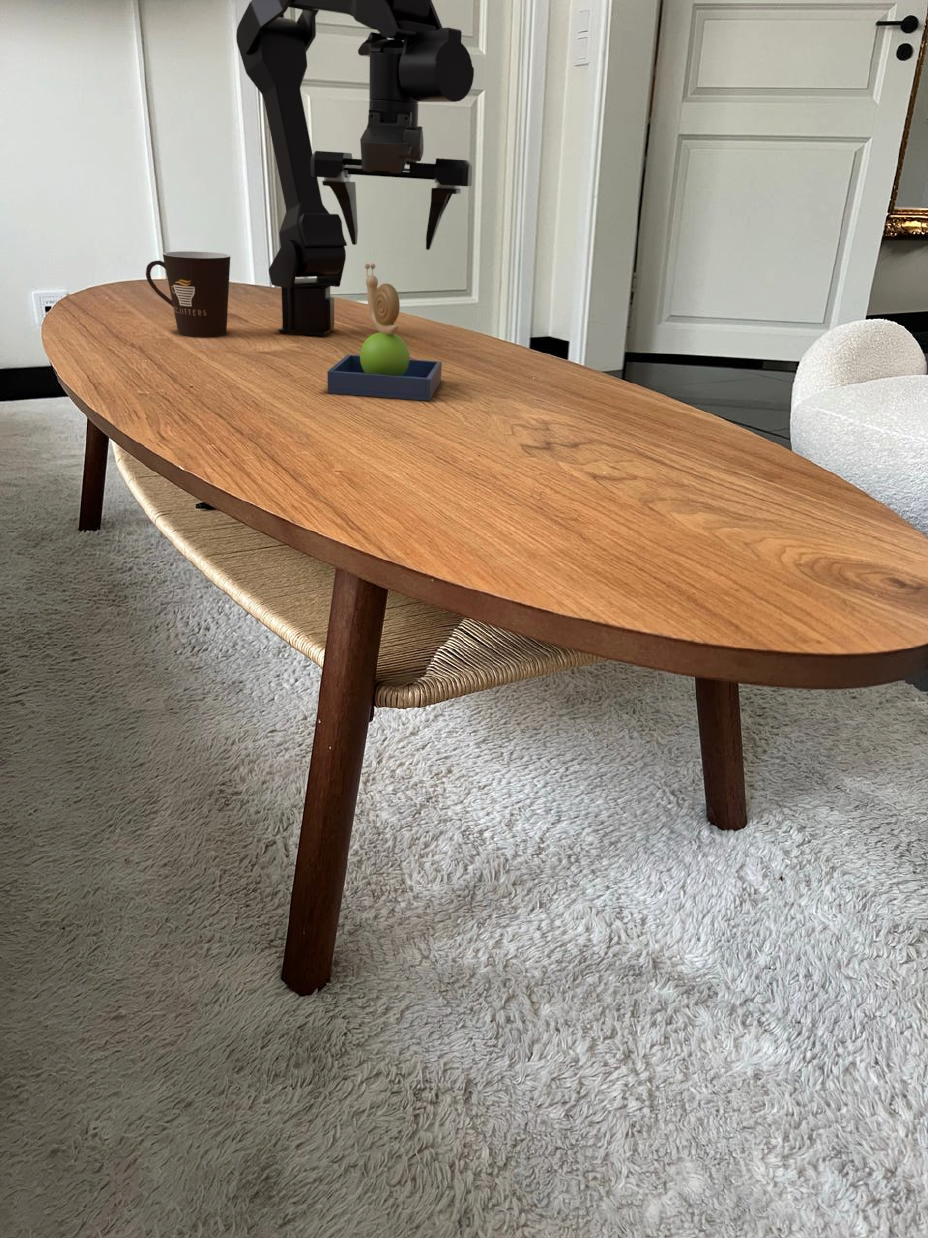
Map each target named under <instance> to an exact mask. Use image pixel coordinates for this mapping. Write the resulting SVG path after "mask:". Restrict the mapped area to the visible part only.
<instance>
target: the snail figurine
mask: <svg viewBox="0 0 928 1238" xmlns="http://www.w3.org/2000/svg"><path fill="white" fill-rule="evenodd" d="M364 268H365V269H366V279H365V285H366V291H367V293H366V294H367V296H366V297H367V305H368V306H367V307H368V311H369V316H370V320H371V323H372V324H373V327H375V328H376V329H377V331H378V332H375V333H373V334H371V335H370V336H368V337H367V338H366V339H365V341H364V342H363V344H362V345H361V348H360V351H359V355H360V362H361V366H362V368H363V370H364V372H365V373H366V374H379V375H392V376H403V375H404V374H405V372H406V370H407V368H408V366H409V361H410V359H411V357H410V356H411V355H410V352H409V347H408V346H407V344H406V342H405V341H404V340H403V339H402V338H401V336H399V335H397V334H396V333H397V332H398V330H399V325H398V324H395V322H396V321H397V319H398V318H399V314H400V308H401V307H400V305H401V303H400V297H399V293H398V291H397V290H396V288H395V287H394V286H393V285H392V284H390V283H382V284H381V285H379V281H378V278H377V276H375V275H374V269H375V268H376V264H375V263H371V264H369V263H365V265H364ZM369 269H371V274H370V275H369V273H368V270H369ZM378 285H379V286H378Z"/></svg>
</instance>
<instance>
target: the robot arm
mask: <svg viewBox="0 0 928 1238" xmlns="http://www.w3.org/2000/svg"><path fill="white" fill-rule="evenodd" d="M289 8H291V9H297V10H300V11H301V13H300V15H299V17H298V18H297V20H294V19H291V18H286V17H281V16H283V15H284V14H285V13H286V12H287V10H288V9H289ZM319 11H321V12H329V13H336V14H342V15H346V16H347V15H348V16H351V17H352V18H353V19H354V21H356V22H357V23H359V24H361V25H363V26H365V27H366V28H368V29H371V30H376V31H377V32H374V31H370V33H369V35H368V37H367V38H366V40H365V41H364V42H363V43H361V44H360V46H359V47H358V49H357V54H358V55H359V56H362V57H367V58H369V75H368V76H369V83H368V84H369V86H368V87H369V89H368V90H369V91H368V93H369V95H368V96H369V97H368V99H369V100H368V115H367V125H366V129H364V131H363V133H362V135H361V137H360V139H359V142H360V157H361V158H353V154H352V153H351V152H341V151H325V150H315V151H314V153H313V148H312V143H311V139H310V134H309V133H310V132H309V127H308V122H307V118H306V112H305V109H304V108H305V107H304V102H303V96H302V91H301V87H302V84H303V80H304V78H305V74H306V71H307V68H308V57H307V53H308V50H309V48H311V45H312V43H313V42H314V41H315V38H316V36H317V23H316V22H317V21H316V17H317V14H318V13H319ZM462 33H463V32H462V29H458V28H454V27H453V28H452V27H443V25H442V23H441V21H440V17H439V16H438V13H437V10H436V8H435V5H434V2H433V0H250V1H249V3H248V5H247V7H246V9H245V11H244V13H243V15H242V17H241V19H240V21H239V23H238V25H237V28H236V34H235V35H236V36H235V38H236V39H235V40H236V44H237V49H238V51H239V55H240V58H241V61H242V65H243V68H244V71H245V73H246V75H247V77H248V78H249V79H250V81H251V82H252V83H253V85H254V86H255V87H256V88H257V89H258V91H259V93H260V94H261V96H262V98H263V102H264V107H265V113H266V117H267V123H268V128H269V132H270V137H271V142H272V148H273V153H274V158H275V162H276V166H277V173H278V177H279V181H280V186H281V192H282V197H283V201H284V207H285V214H284V217H283V220H282V224H281V225H280V229H279V231H278V237H279V245H280V248H279V249H278V251H277V252H276V255H275V256H274V259H273V260H272V261H271V264H270V266H269V268H268V274H269V279H270V283H271V286H274V287H279V288H281V289H280V290H281V291H280V292H281V315H282V316H281V319H282V326H281V327H280V328H279V329H278V333H282V334H295V335H307V336H318V337H319V336H321V337H324V336H326V335H327V334H329V333H331V332H332V331H333V330H334V329H335V298H334V297H332V296H331V287H335V288H339V287H340V286H341V282H342V277H343V273H344V270H345V269H344V268H345V264H346V259H347V253H346V248H345V247H347V246H348V243H347V241H346V239H345V236H344V232H343V231H344V230H343V221H342V218H341V217H340V215H339V214H338V213H330V212H329V211H328V209H327V208H326V206H325V205H324V204H323V200H322V194H321V189H320V184H319V179H318V178H323V180H321V182H322V186H323V187H329V188H330V189H331V191H332V192H333V194H334V195H335V198H336V200H337V202H338V205H339V207H340V209H341V213H342V215H343V219H344V222H345V225H346V228H347V232H348V235H349V238H350V241H351V244H352V245H353V246H357V244H358V234H359V227H358V209H357V207H358V206H357V188H356V187H357V186H356V181H351V180H350V179H351V178H352V175H353V176H367V177H384V178H401V179H415V180H432V181H434V184H436V187H431V191H430V207H429V213H428V220H427V228H426V234H425V251H427V250H428V251H429V250H431V248H432V245H433V242H434V239H435V237H436V233H437V230H438V228H439V225H440V222H441V219H442V217H443V214H444V212H445V210H446V208H447V207H448V204H449V202H450V200H451V198H452V196H453V195H458V194H461V190H462V189H461V188H460V187H472V182H473V165H472V164H471V162H470V161H469V160H466V159H457V158H456V159H454V158H439V157H438V158H435V163H429V162H421V161H422V158H423V156H424V132H423V131H424V130H423V126H419V103H456V102H461V101H462V100H463V99H465V98H466V97H467V96H468V94H469V93H470V91H471V89H472V86H473V82H474V77H475V68H474V66H473V62H472V58H471V54H470V52H469V51H468V48H467V47H466V46H465V45H464V44H463V43H462ZM406 166H409V168H406Z"/></svg>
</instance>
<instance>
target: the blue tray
mask: <svg viewBox="0 0 928 1238" xmlns="http://www.w3.org/2000/svg"><path fill="white" fill-rule="evenodd" d="M442 365H443V363H442V361H437V360H428V359H427V360H426V359H425V360H424V359H413V358H410V361H409V366H408V368H407V370H406V372H405V374H404V375H403V376H392V375H379V374H366V373H365V372H364V370H363V368H362V366H361V362H360V354H349V353H348V354H347V355H344V357H343V358H341V359H340V360H339V361H338V362H336V364H334V365H333V366H331V368H330V369H328V371H327V375H326V376H327V379H326V380H327V393H328V394H334V395H345V396H346V395H348V396H349V395H350V396H360V397H371V398H372V397H373V398H384V399H385V398H386V399H396V400H397V399H398V400H407V401H408V400H410V401H422V402H430V401H431V400H432V398H433V396H434V394H435V393H436V391H437V389H438V388H439V386H440V384H441V382H442V368H443V367H442Z"/></svg>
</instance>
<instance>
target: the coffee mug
mask: <svg viewBox="0 0 928 1238" xmlns="http://www.w3.org/2000/svg"><path fill="white" fill-rule="evenodd" d="M162 258H163V261H162V260H152V261H151V262H149V263H148V264H147V265H146V269H145V276H146V280H147V283H148V284H149V286H150V287H151V289H152V290H153V291H154V292H155V293H156V295H158V296H159V297H160V298H161V299H162V300H163V301H165V302H166V303H167V304H168V305H169V306H171V307H172V308H173V314H174V319H175V323H176V328H177V329H176V330H177V334H179V335H181V336H185V337H193V338H194V337H195V338H213V337H214V338H215V337H222V336H225V335H227V332H228V331H227V330H228V329H227V328H228V311H229V292H230V291H229V289H230V273H231V255H230V254H227V253H221V252H214V251H213V252H212V251H211V252H210V251H196V250H195V251H193V250H191V251H190V250H189V251H187V250H183V251H181V250H180V251H178V250H177V251H166V252H163V253H162ZM155 266H161V267H162V268H164V269H165V273H166V277H167V283H168V288H169V293H170V297H168V296H167V295H166V294H165V293H164V292H162V291H161V290H160V289H159V288H158V287H157V285H156V284H155V283H154V281H153V280H152V275H151V272H152V269H153V268H154V267H155Z"/></svg>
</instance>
